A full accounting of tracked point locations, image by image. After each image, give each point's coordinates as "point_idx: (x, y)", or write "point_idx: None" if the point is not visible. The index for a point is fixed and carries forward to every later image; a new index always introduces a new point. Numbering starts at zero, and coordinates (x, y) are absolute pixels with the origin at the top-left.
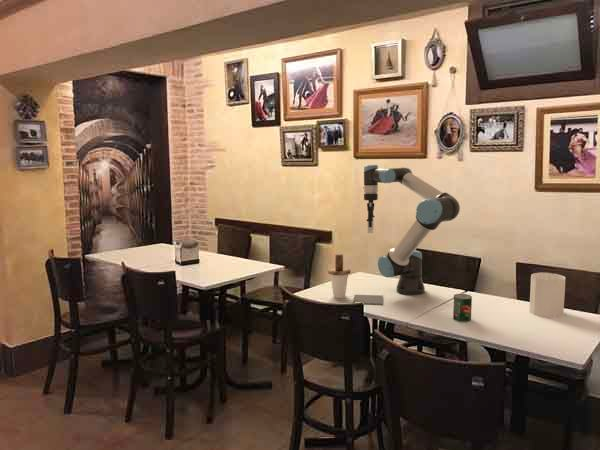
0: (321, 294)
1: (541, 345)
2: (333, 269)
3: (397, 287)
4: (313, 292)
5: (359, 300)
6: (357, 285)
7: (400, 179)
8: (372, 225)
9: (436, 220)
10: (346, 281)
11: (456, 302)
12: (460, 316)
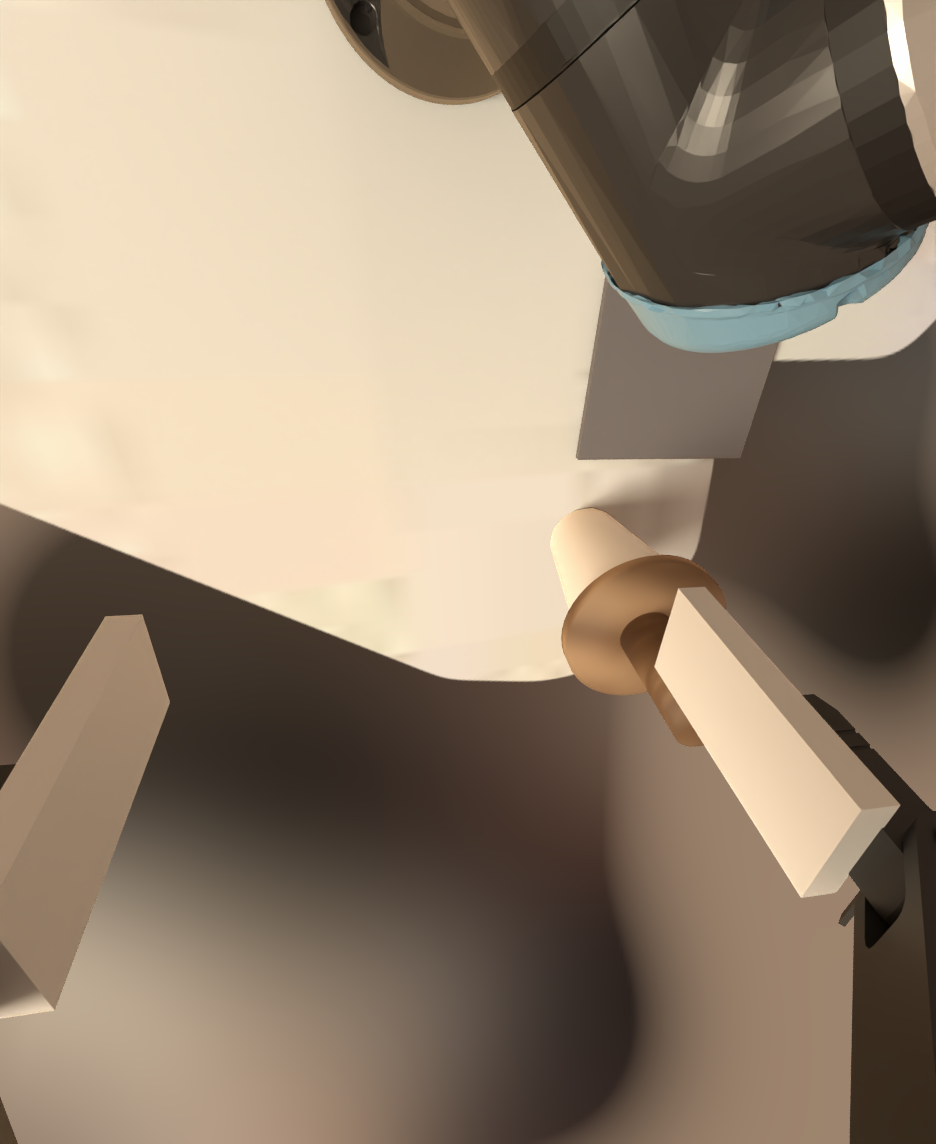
0: (544, 624)
1: None
2: (613, 669)
3: (487, 92)
4: (506, 663)
5: (704, 422)
6: (317, 453)
7: None
8: (808, 708)
9: None
10: (644, 547)
11: None
12: None
